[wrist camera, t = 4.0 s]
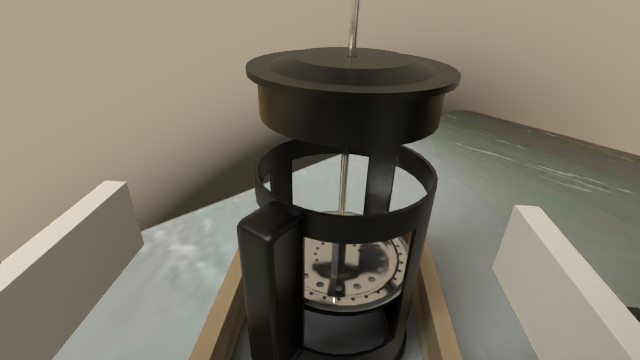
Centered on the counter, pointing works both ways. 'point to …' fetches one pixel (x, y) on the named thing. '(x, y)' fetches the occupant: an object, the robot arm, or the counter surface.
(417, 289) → the wooden frame
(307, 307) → the french press
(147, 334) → the counter surface
